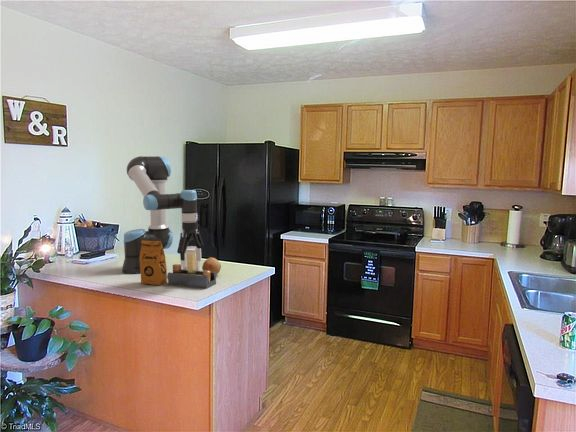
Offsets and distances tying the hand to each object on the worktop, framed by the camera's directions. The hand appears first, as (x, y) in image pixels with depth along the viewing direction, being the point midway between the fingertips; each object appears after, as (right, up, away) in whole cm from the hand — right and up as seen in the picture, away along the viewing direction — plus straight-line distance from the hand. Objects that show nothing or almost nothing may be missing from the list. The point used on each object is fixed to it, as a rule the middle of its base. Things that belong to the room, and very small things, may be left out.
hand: (191, 263), depth 212 cm
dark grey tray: (0, -10, +1) cm, 11 cm away
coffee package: (-20, -11, +4) cm, 23 cm away
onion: (+7, -9, +18) cm, 21 cm away
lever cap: (0, -8, +1) cm, 8 cm away
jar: (-5, -8, +21) cm, 23 cm away
